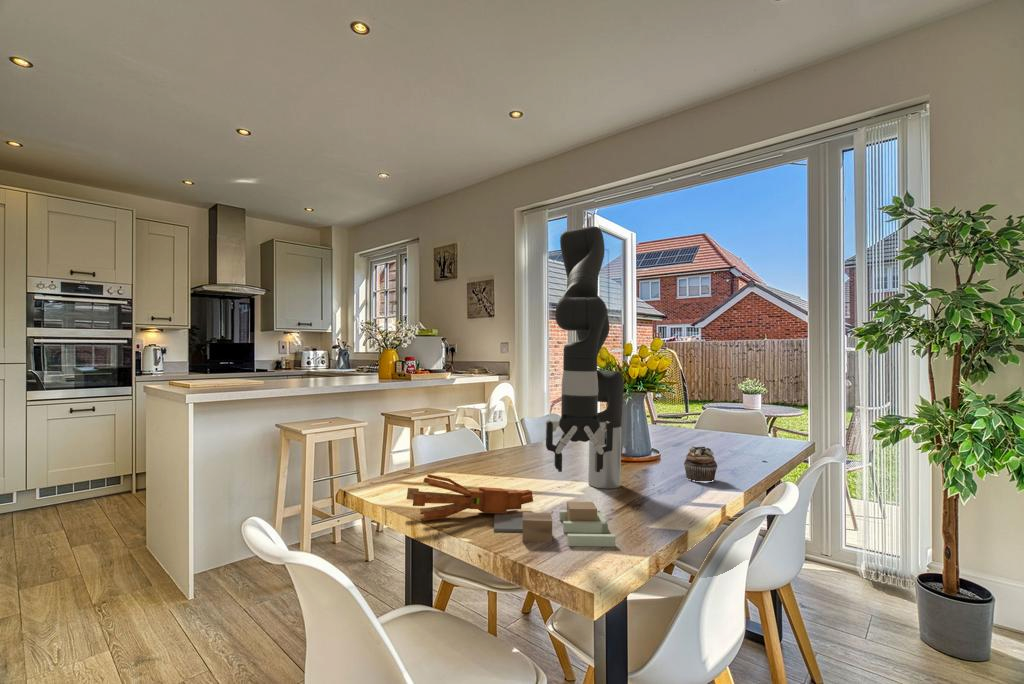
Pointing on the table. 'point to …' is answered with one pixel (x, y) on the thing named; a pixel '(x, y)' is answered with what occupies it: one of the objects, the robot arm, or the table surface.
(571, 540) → the rack
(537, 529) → the block
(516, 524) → the pad
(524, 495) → the toy
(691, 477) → the cupcake
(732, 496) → the table surface
